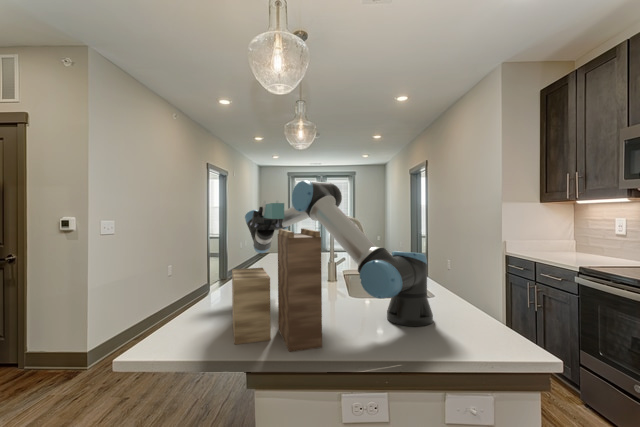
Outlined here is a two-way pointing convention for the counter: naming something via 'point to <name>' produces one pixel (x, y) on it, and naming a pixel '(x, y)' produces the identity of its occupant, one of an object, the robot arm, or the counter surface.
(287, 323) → the chute stand
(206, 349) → the counter surface
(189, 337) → the counter surface
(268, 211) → the bar
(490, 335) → the counter surface
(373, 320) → the counter surface
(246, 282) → the wooden toy block
